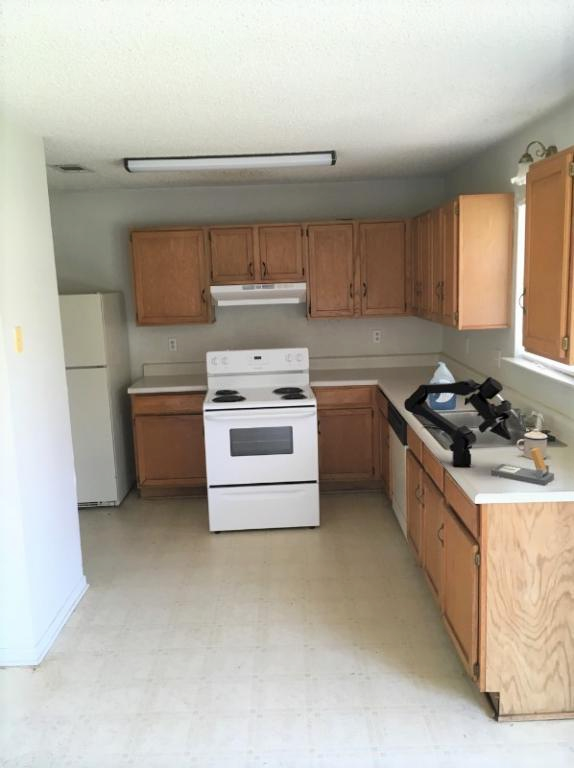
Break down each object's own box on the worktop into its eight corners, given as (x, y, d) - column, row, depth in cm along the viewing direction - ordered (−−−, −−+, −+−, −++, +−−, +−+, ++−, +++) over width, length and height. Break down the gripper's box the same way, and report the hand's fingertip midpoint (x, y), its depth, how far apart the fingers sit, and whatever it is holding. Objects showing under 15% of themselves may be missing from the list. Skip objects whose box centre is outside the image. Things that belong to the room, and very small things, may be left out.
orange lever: (538, 476, 227) (529, 451, 227) (542, 473, 230) (534, 448, 231) (544, 475, 225) (535, 450, 226) (548, 472, 228) (539, 447, 229)
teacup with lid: (542, 453, 262) (544, 426, 260) (549, 460, 253) (551, 432, 251) (513, 453, 264) (514, 426, 262) (518, 459, 255) (520, 431, 253)
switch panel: (491, 475, 235) (491, 461, 235) (501, 468, 243) (502, 455, 242) (544, 485, 223) (545, 471, 222) (553, 478, 230) (554, 465, 229)
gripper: (487, 397, 228) (516, 431, 222) (508, 390, 241) (535, 422, 236) (466, 415, 234) (494, 449, 229) (487, 407, 248) (514, 439, 243)
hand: (510, 439), depth 234 cm, fingers closed
